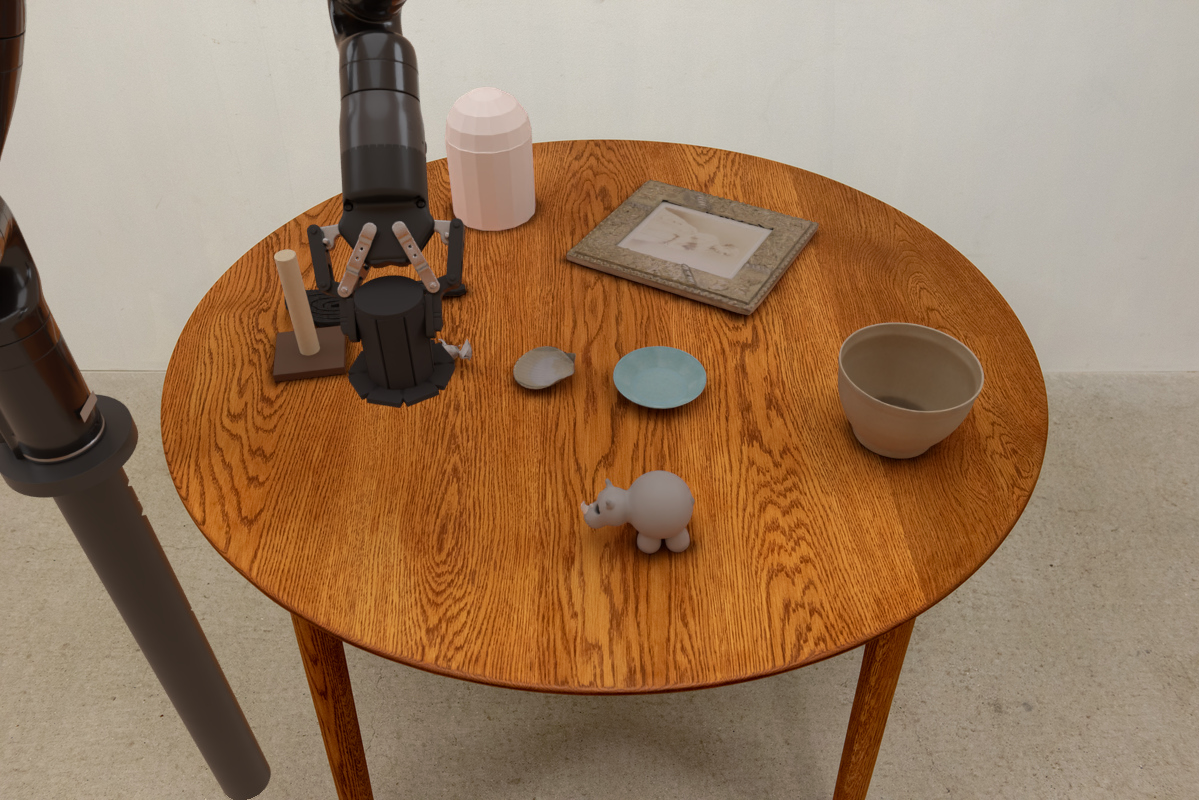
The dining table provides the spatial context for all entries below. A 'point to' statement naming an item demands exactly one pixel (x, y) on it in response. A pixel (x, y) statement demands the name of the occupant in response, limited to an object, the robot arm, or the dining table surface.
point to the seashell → (543, 367)
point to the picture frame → (696, 245)
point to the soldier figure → (454, 351)
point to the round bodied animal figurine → (646, 510)
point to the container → (490, 160)
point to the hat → (396, 345)
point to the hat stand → (304, 332)
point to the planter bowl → (906, 386)
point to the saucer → (659, 377)
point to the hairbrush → (329, 311)
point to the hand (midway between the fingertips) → (393, 339)
